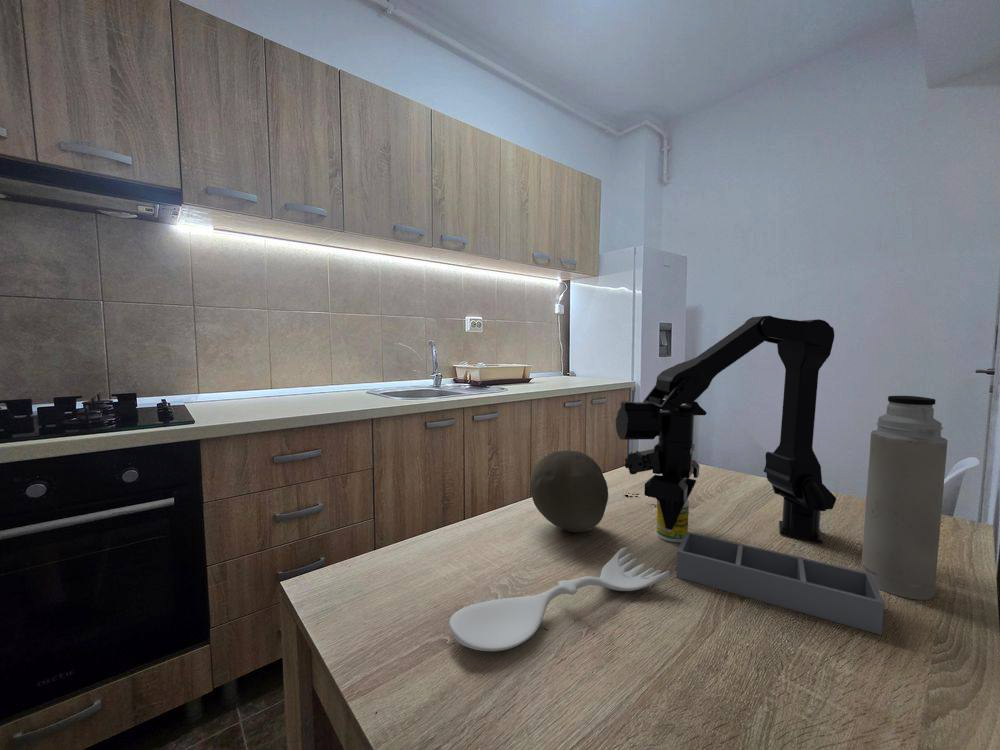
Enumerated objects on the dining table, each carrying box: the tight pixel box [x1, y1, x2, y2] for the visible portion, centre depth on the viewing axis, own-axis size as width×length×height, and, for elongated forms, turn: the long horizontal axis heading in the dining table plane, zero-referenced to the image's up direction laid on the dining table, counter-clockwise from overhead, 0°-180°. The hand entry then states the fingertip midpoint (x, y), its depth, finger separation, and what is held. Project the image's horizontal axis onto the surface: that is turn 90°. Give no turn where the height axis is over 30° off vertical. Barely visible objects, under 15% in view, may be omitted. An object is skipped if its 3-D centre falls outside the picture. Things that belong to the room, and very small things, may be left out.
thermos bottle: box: [860, 395, 948, 601], centre depth 62 cm, size 8×8×28 cm
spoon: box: [448, 546, 671, 652], centre depth 56 cm, size 9×32×4 cm, turn 120°
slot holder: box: [676, 531, 885, 636], centre depth 61 cm, size 8×23×4 cm, turn 57°
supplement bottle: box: [656, 498, 690, 543], centre depth 77 cm, size 5×5×10 cm
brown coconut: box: [529, 450, 609, 533], centre depth 79 cm, size 14×14×15 cm
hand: (672, 523), depth 77 cm, fingers closed on supplement bottle, 5 cm apart
